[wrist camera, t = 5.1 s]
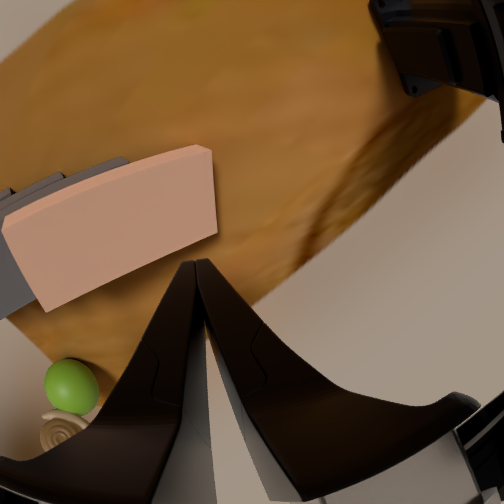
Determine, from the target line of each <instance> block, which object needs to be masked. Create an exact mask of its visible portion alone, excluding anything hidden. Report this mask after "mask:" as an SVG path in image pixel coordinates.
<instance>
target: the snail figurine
mask: <svg viewBox="0 0 504 504" xmlns="http://www.w3.org/2000/svg"><path fill="white" fill-rule="evenodd" d="M44 385H45V391H46V394H47V397H48V399H49V400H50V402H51V403H52V405H53V406H54V407H55V408H56V409H52V410H49V411H48V412H46V413H44V414H43V415H42V418H43V419H46V420H50V421H48V422H47V423H45V424H44V425H43V427H42V429H41V432H40V440H41V444H42V447H43V449H44V450H45V452H46V451H48V450H50V449H52V448H53V447H55V446H57V445H58V444H60V443H62V442H63V441H65V440H67V439H68V438H70V437H72V436H73V435H75V434H76V433H78V432H80V431H81V430H83V429H84V428H86V427H87V426H88V425H89V424H90V423H89V422H88V421H86V420H85V419H83V418H82V417H81V416H83V415H86V414H88V413H89V412H91V411H92V410H93V409H94V408H95V406H96V404H97V402H98V399H99V386H98V382H97V380H96V378H95V376H94V374H93V373H92V371H91V370H90V369H89V368H88V367H87V366H86V365H84V364H83V363H81V362H79V361H76V360H73V359H62V360H59V361H56V362H55V363H53V364H52V365H51V366H50V367H49V369H48V370H47V372H46V375H45V380H44Z"/></svg>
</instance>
